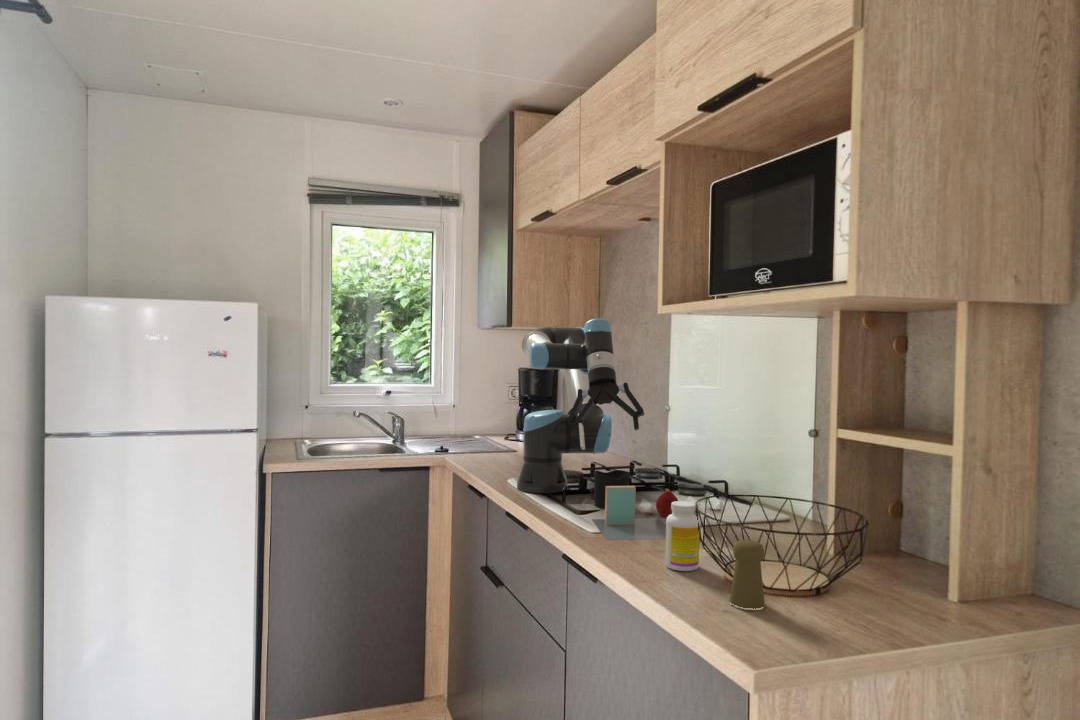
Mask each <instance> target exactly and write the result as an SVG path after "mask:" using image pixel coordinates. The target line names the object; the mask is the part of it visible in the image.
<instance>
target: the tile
mask: <svg viewBox="0 0 1080 720" xmlns="http://www.w3.org/2000/svg"><path fill="white" fill-rule="evenodd" d="M636 490H637V489H636V486H635V485H629V486H606V487H605V509H604V519H605V524H606V525H635V519H636V493H637V491H636Z"/></svg>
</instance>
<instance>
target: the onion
mask: <svg viewBox="0 0 1080 720" xmlns="http://www.w3.org/2000/svg"><path fill="white" fill-rule="evenodd" d="M675 501H679V499H678V497H677V496H676V495H675V494H674V493H673V492H672V491H670V488H665V490H664V492H662V494H661V495H659V497H657V499H656V503H655V506H656V507H655V508H656V511H657V513H658V514H659V515H660V516H662V517H663V518H667V517H668V516H669V515H670V514H672V509H671V503H672V502H675Z"/></svg>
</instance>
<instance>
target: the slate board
mask: <svg viewBox="0 0 1080 720" xmlns="http://www.w3.org/2000/svg"><path fill="white" fill-rule="evenodd" d="M591 521H592V522H593V524H594V525H595V526H596V528H597V529H598V530H599V532H600V534H602V536H603V537H604V538H605V540H606V541H607V540H609V541H611V540H613V541H615V540H616V541H617V540H622V541H623V540H659V539H660V540H662V539H663V540H664V539H665V540H666V522H664V521H663V520H662V519H660V518H659V517H658V518H657V517H656V518H653V517H651V518H635V525H606V524H605V518H598V519H597V518H593V519H592V518H591Z"/></svg>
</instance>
